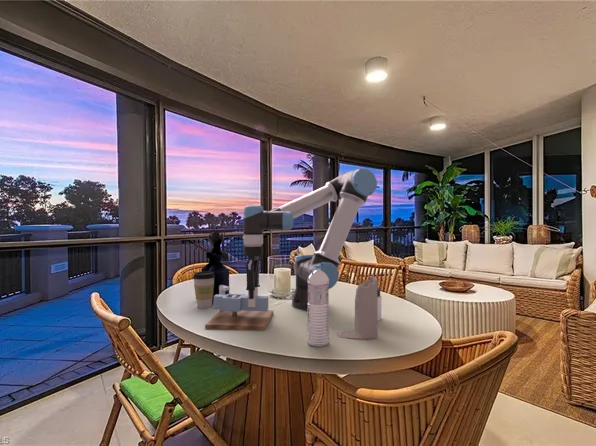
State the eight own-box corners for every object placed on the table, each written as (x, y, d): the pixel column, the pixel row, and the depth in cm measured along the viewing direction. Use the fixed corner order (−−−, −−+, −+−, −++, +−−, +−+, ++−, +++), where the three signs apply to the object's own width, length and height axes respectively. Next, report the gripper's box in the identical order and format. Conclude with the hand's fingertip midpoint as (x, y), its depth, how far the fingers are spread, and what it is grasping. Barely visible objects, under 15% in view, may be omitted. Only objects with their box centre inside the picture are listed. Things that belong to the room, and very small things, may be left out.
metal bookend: (335, 331, 114) (335, 274, 113) (374, 331, 113) (375, 274, 113) (337, 338, 106) (337, 278, 106) (379, 339, 106) (379, 279, 105)
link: (211, 310, 123) (211, 297, 123) (217, 305, 130) (217, 293, 130) (265, 312, 121) (266, 299, 121) (269, 307, 128) (269, 295, 128)
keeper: (229, 315, 131) (229, 287, 131) (225, 316, 130) (225, 287, 129) (223, 312, 135) (223, 284, 135) (219, 313, 134) (219, 285, 134)
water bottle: (322, 349, 98) (322, 267, 97) (303, 344, 102) (303, 266, 101) (332, 341, 104) (332, 264, 103) (314, 337, 107) (314, 263, 107)
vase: (234, 300, 155) (233, 227, 155) (210, 303, 149) (210, 228, 148) (223, 294, 167) (222, 227, 166) (201, 297, 161) (200, 227, 160)
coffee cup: (209, 309, 140) (209, 275, 139) (188, 308, 142) (188, 274, 141) (219, 303, 149) (219, 271, 149) (199, 302, 151) (199, 270, 151)
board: (273, 313, 134) (273, 310, 134) (265, 330, 115) (265, 325, 115) (221, 312, 135) (221, 309, 135) (205, 328, 116) (205, 324, 116)
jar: (356, 320, 125) (357, 290, 124) (359, 314, 132) (359, 285, 132) (380, 323, 122) (380, 291, 122) (381, 316, 130) (381, 287, 129)
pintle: (237, 318, 127) (237, 295, 127) (236, 320, 125) (236, 296, 125) (232, 318, 127) (232, 295, 127) (231, 320, 125) (231, 296, 125)
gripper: (248, 243, 133) (248, 299, 134) (238, 247, 117) (237, 311, 117) (266, 243, 133) (266, 299, 133) (258, 247, 116) (258, 311, 117)
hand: (253, 305), depth 125 cm, fingers closed on link, 4 cm apart
